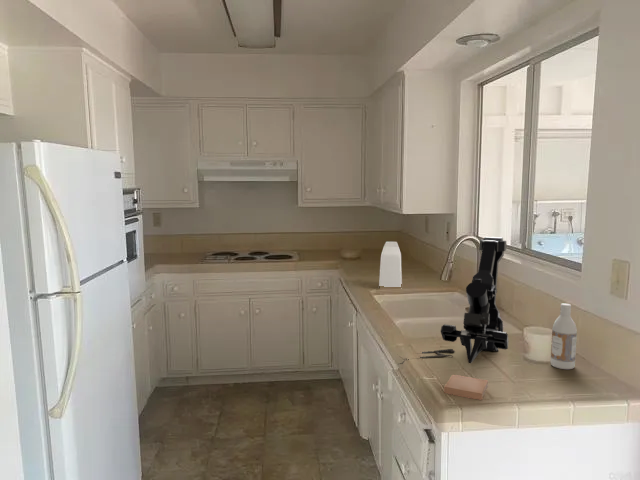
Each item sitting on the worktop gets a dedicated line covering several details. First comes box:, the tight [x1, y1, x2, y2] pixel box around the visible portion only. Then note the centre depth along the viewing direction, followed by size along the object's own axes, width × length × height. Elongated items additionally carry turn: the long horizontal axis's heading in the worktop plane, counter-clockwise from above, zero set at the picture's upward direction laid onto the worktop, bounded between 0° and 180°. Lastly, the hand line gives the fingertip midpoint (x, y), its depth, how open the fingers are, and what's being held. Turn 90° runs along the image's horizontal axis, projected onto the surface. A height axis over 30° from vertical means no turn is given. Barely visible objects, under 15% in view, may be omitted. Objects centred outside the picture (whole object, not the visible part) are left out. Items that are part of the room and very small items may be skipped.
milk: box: [378, 241, 403, 287], centre depth 274 cm, size 12×12×26 cm
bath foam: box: [550, 302, 578, 370], centre depth 154 cm, size 7×7×20 cm
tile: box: [443, 374, 489, 401], centre depth 137 cm, size 2×10×10 cm
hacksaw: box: [398, 348, 456, 365], centre depth 163 cm, size 24×10×1 cm, turn 97°
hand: (469, 362), depth 140 cm, fingers closed
